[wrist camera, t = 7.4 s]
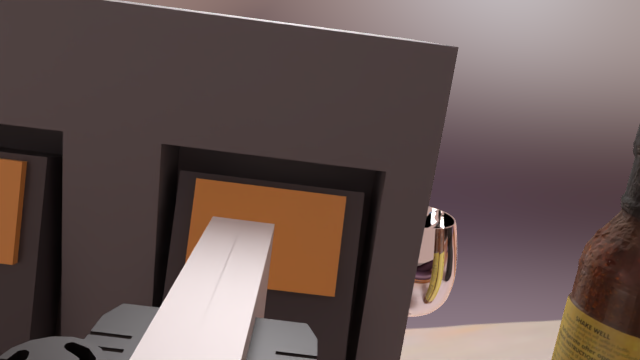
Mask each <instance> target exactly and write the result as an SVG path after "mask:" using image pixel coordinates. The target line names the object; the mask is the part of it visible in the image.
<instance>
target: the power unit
mask: <svg viewBox="0 0 640 360" xmlns="http://www.w3.org/2000/svg"><path fill="white" fill-rule="evenodd" d="M457 52H458V47H454V46H448V45H442V44H437V43H431V42H425V41H419V40H413V39H406V38H398V37H391V36H383V35H375V34H368V33H360V32H353V31H345V30H338V29H331V28H323V27H316V26H308V25H300V24H293V23H285V22H278V21H270V20H262V19H254V18H247V17H240V16H233V15H225V14H217V13H210V12H203V11H195V10H186V9H180V8H172V7H164V6H156V5H150V4H142V3H134V2H127V1H120V0H0V147H2V148H10V149H18V150H27V151H35V152H43V153H51V154H59V155H63V172H62V274H61V284H60V294H59V304H58V314H57V324H56V334H55V336H58V337H76V338H80V339H85V338H86V336H87V335H88V334H90V332H91V330H92V328H93V327H94V326H95V325H96V323H97V322H98V321H99V319H100V318H101V317H102V315H104V314H106V313H108V312H109V311H111V310H113V309H115V308H116V307H118V306H120V305H122V304H123V303H125V304H134V305H142V306H150V307H158V308H160V306H161V305H162V302H163V295H164V288H165V280H166V273H167V265H168V258H169V250H170V243H171V235H172V228H173V220H174V213H175V205H176V198H177V190H178V183H179V176H180V170H183V171H191V172H199V173H207V174H215V175H224V176H232V177H240V178H248V179H256V180H264V181H272V182H280V183H288V184H297V185H305V186H313V187H321V188H329V189H337V190H345V191H353V192H362V193H365V195H364V203H363V211H362V220H361V228H360V237H359V245H358V254H357V262H356V271H355V279H354V288H353V296H352V305H351V313H350V322H349V330H348V339H347V347H346V356H345V360H400V356H401V350H402V345H403V340H404V334H405V329H406V324H407V318H408V313H409V308H410V303H411V297H412V292H413V287H414V281H415V276H416V271H417V265H418V260H419V255H420V249H421V244H422V239H423V233H424V228H425V223H426V217H427V212H428V207H429V201H430V196H431V190H432V185H433V180H434V175H435V169H436V163H437V158H438V153H439V148H440V143H441V137H442V131H443V127H444V121H445V116H446V111H447V106H448V100H449V95H450V90H451V84H452V79H453V73H454V68H455V62H456V57H457Z"/></svg>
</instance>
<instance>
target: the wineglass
mask: <svg viewBox="0 0 640 360" xmlns="http://www.w3.org/2000/svg"><path fill="white" fill-rule="evenodd" d="M456 266H457V229H456V221H455V219H454V218H453V217H452V216H451V215H449V214H447V213H446V212H443V211H441V210H438V209H436V208H432V207H428V212H427V217H426V223H425V228H424V233H423V239H422V244H421V249H420V255H419V260H418V265H417V271H416V276H415V281H414V287H413V292H412V297H411V303H410V308H409V313H408V317H415V316H421V315H425V314H429V313H431V312H433V311H435V310H436V309H437V308H439V307H440V306H441V305H442V304H443V303H444V302H445V300H446V299H447V298H448V296H449V293H450V291H451V289H452V286H453V283H454V279H455V274H456Z"/></svg>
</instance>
